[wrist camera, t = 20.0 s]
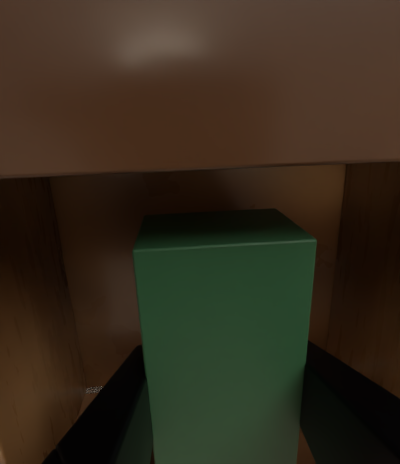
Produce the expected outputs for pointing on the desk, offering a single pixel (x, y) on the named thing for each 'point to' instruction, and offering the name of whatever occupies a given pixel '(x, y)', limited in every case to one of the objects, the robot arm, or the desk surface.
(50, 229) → the drawer
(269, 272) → the dark green foam brick
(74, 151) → the cabinet
